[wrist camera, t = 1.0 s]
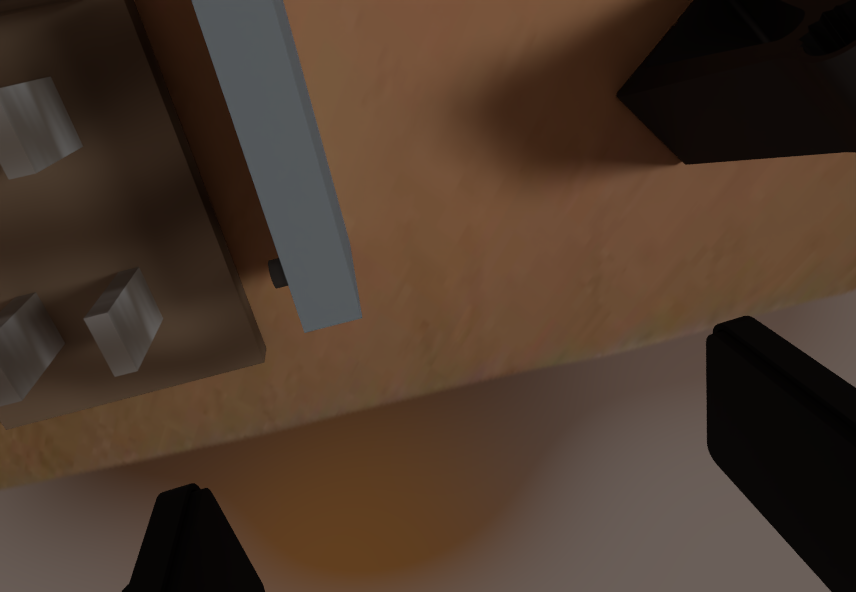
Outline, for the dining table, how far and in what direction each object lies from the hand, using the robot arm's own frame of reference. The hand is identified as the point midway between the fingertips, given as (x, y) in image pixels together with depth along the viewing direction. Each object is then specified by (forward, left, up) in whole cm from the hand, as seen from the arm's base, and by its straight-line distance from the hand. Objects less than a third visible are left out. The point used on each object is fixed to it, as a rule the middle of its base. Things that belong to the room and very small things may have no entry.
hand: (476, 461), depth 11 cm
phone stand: (-1, +19, -22) cm, 29 cm away
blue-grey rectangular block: (-3, -3, -22) cm, 23 cm away
